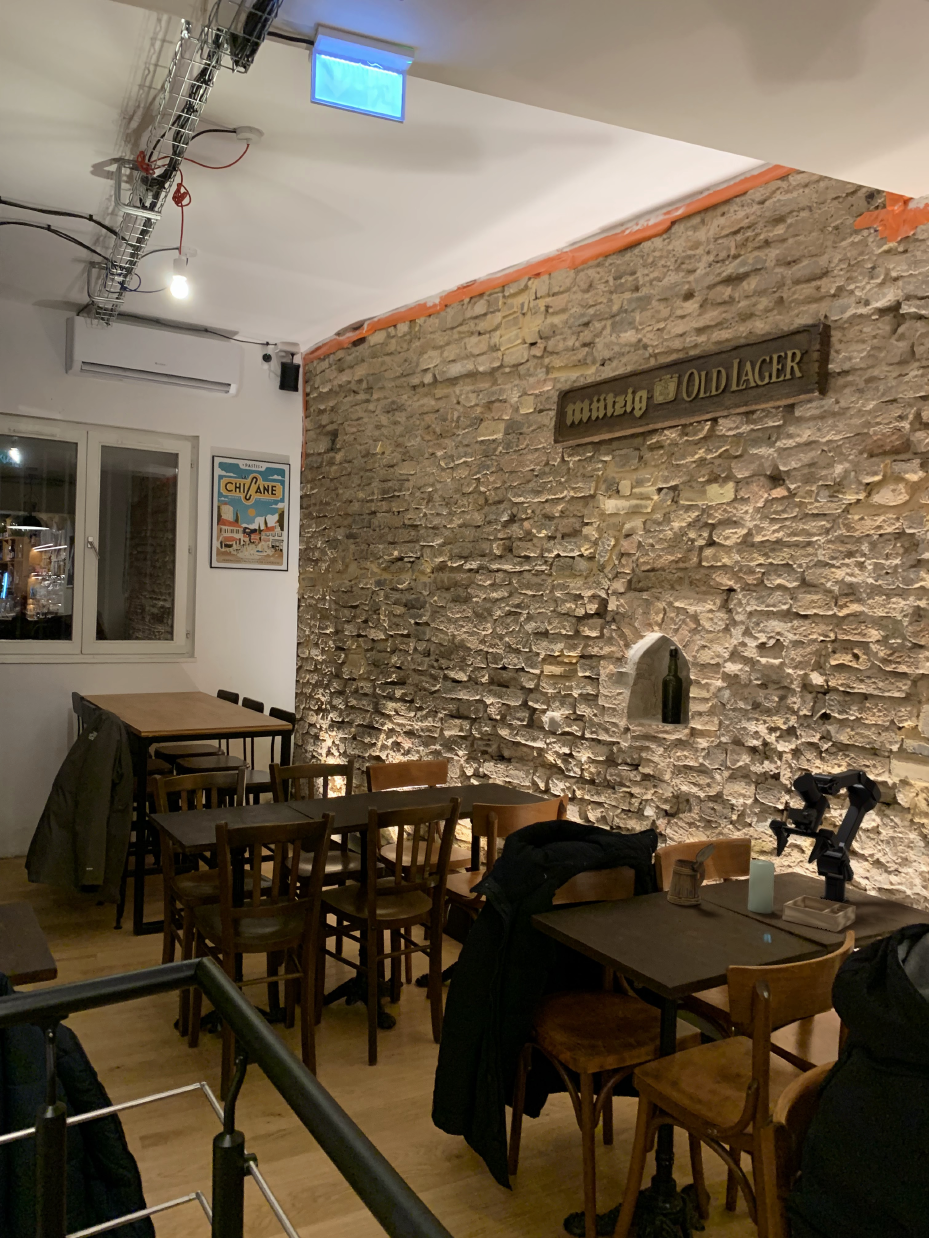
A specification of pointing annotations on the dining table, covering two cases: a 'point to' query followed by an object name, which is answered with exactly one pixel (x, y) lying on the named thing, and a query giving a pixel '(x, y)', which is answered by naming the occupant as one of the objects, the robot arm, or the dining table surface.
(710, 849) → the wooden mug
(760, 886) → the pale green cylinder
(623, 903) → the dining table surface
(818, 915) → the tray
